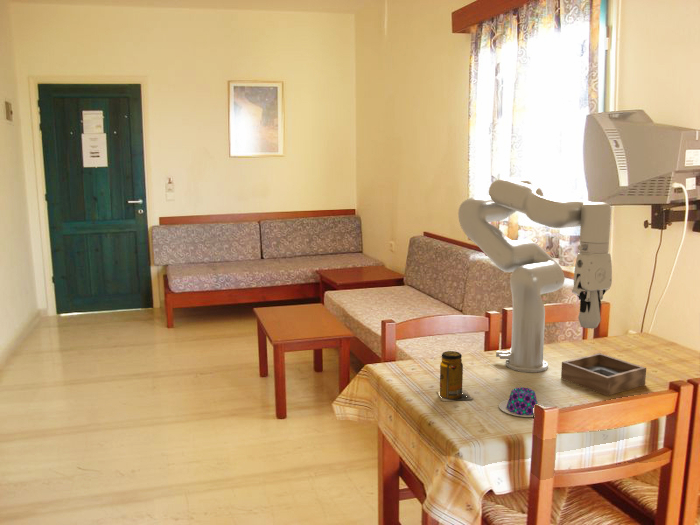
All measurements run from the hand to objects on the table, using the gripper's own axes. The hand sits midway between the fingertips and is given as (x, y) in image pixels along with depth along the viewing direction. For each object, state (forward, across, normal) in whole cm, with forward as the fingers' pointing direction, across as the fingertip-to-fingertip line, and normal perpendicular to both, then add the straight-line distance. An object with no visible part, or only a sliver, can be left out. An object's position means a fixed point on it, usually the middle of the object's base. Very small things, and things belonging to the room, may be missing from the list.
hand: (589, 313), depth 184 cm
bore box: (+21, +7, 0) cm, 22 cm away
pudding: (+22, -27, -5) cm, 35 cm away
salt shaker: (+4, 0, 0) cm, 4 cm away
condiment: (+21, -37, +11) cm, 44 cm away
